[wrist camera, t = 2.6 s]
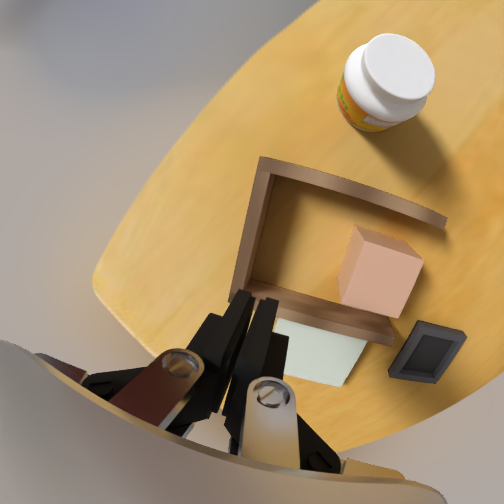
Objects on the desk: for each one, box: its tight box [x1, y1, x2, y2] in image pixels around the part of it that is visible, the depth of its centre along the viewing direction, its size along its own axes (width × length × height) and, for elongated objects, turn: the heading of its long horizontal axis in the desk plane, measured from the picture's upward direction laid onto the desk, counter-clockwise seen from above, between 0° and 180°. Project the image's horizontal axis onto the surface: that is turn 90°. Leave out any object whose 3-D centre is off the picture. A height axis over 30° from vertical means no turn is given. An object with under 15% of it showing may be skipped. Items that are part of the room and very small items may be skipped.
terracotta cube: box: [337, 225, 424, 319], centre depth 20 cm, size 5×5×5 cm
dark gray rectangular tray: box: [388, 320, 467, 384], centre depth 23 cm, size 7×7×1 cm
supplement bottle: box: [337, 33, 435, 132], centre depth 14 cm, size 5×5×10 cm
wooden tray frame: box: [228, 156, 448, 346], centre depth 21 cm, size 15×12×4 cm
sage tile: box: [273, 318, 367, 387], centre depth 25 cm, size 9×8×2 cm
